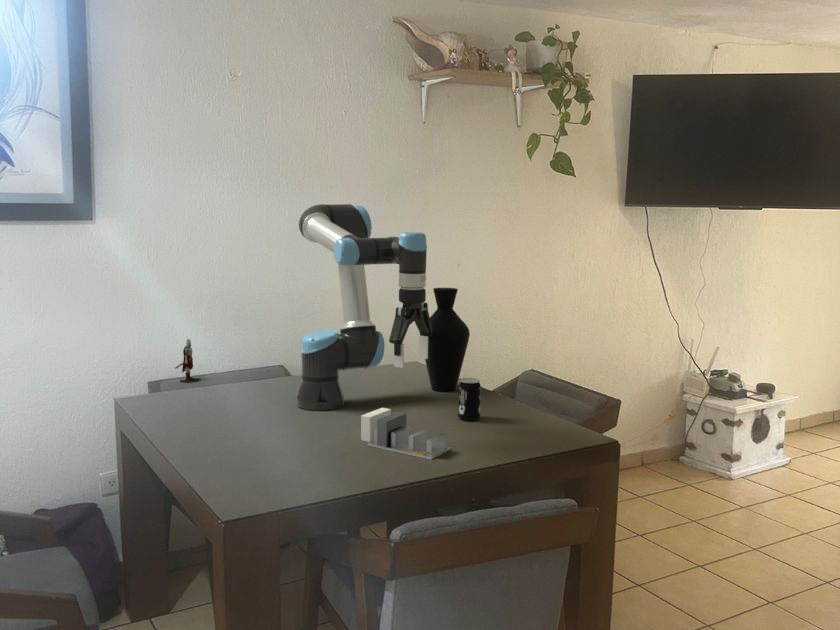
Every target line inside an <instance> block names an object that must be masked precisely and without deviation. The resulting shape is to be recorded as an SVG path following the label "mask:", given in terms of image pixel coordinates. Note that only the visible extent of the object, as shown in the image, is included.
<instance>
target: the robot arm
mask: <svg viewBox="0 0 840 630" xmlns="http://www.w3.org/2000/svg"><path fill="white" fill-rule="evenodd" d="M298 228H299V232H300V234H301V236H303V237H304V238H305V239H306V240H307V241H309V242H311V243H313V244H314V243H315V244H316V243H317V244H320V245H321V246H323V248H326V249H327V250H328V251H330V252H332V253H333V258H334V260H335V262H336V264H337V269H338V278H339V288H340V297H341V306H342V315H343V324H342V326H341V327H340V329H339V331H340V332H339V331H338V330H335V329H326V330H325V329H323V330H316V331H313V332H310V333H307V334H306V335H304V336H303V337H302V339H301V348H300V352H301V382H300V387H299V389H298V393H297V395H296V406H297V407H298V408H299V409H302V408H303V410H308V411H329V410H330V411H331V410H335V409H339V408H341V407H343V406H344V405H345V395H344V393H343V391H342V387H341V383H340V379H339V378H340V377H339V376H340V375H339V373H340V372H341V371H348V370H349V371H350V370H361V369H363V370H364V369H365V370H366V369H369V368H374V367H377V366H379V364H381V362H382V360H383V358H384V354H385V338H384V336H383V333H382V332H380V331H378V330H377V328H376V324H375V323H373V321H371V316H370V315H371V314H370V306H369V305H370V304H369V298H368V297H369V296H368V286H367V277H366V269H365V265H368V266H369V265H395V264H396V265H398V287H399V289H398V302H400V303H401V304H402V307H396V308H395V316H394V320H393V323H392V328H391V332H390V336H389V338H388V339H389V343H390V344H393V367H395V368H401V369H402V368H405V343H404V340H405V337H406V335H407V332H408V330H409V327H410V325H411V324H413V322H414V324H415V326H416V328H417V330H418V333H419V335H418V359H423V360H425V359H428V336H432V332H433V329H432V325H431V321H430V317H431V316H430V314H429V309H428V308H429V306H428V305H429V304H428V302H426V297H427V294H426V293H427V292H426V289H425V288H426V285H427V283H426V282H427V274H426V272H427V250H428V244H427V236H426V234H425V232H417V231H416V232H415V231H411V232H410V231H404V232H401V233H400V234H399V237H398V236H387V237H371V235H372V229H373V227H372V220H371V217H370V214H369V212H368V210H367V209H366V208H365V207H364V206H362V205H360V204H352V203H349V204H348V203H347V204H346V203H345V204H340V203H339V204H322V203H321V204H315V205H313V206H310V207H309V208H307V209H306V210H305V211H303V212H302V214H301V215H300V218H299V220H298ZM427 327H428V328H427ZM420 334H421V335H422V336H420Z"/></svg>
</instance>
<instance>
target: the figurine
mask: <svg viewBox="0 0 840 630" xmlns="http://www.w3.org/2000/svg"><path fill="white" fill-rule="evenodd" d="M182 353H183V361H182V362H181V363H180V364H178V365H177V366H176V367H175V368H174V369H175V370H177V369H178V368H180V367H181V366H182V371H181V372H182V374H184V372H185V374H184V375H185V378H186V379H185V380H181V379H179V382H180V383H182V384H183V383H184V384H191V383H196V382H199V381H200V379H199V378H196V377H191V371H192V370H193V369H194V361H193V359H194V358H193V349H192V342H191V339H186V345H184V348H183V350H182Z"/></svg>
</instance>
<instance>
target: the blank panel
mask: <svg viewBox="0 0 840 630" xmlns="http://www.w3.org/2000/svg"><path fill="white" fill-rule="evenodd" d="M391 414H392V409H391V408H387V407H380V408H377V409H374V410H373V411H370V412H366V413H365V414H362V415H360V423H361V425H360V428H361V429H360V440H361V441H364V442H367V443H370V442H372V441H374V429H375V428H377V420H378V419H381V418H383V417H386V416H388V415H391Z"/></svg>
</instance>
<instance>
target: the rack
mask: <svg viewBox="0 0 840 630" xmlns="http://www.w3.org/2000/svg"><path fill="white" fill-rule="evenodd" d="M407 415H408V414H407V413H406V412H401V411H396V412H394V413H391V415H388V416H386V417H383V418H381V419H378V420H377V428H375V429H374V440H373V441H371V442H367V446H368V447H373V448H378V449H382V450H386V451H389V452H390V451H391V452H396V453H400V454H403V455H409V456H414V457H419V458H421V459H427V460H433V459H435V458H437V457H439V456H441V455H443V454H445V453H446V452H449V451H451V450H452V449H451V448H452V447H451V446H448V445H446V434H445V433H441V432H440V433H438V434H435V436H433V437H429V438H428V430H426V429H422V430H419V431H417V432H415V433H412V434H411V426H407Z"/></svg>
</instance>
